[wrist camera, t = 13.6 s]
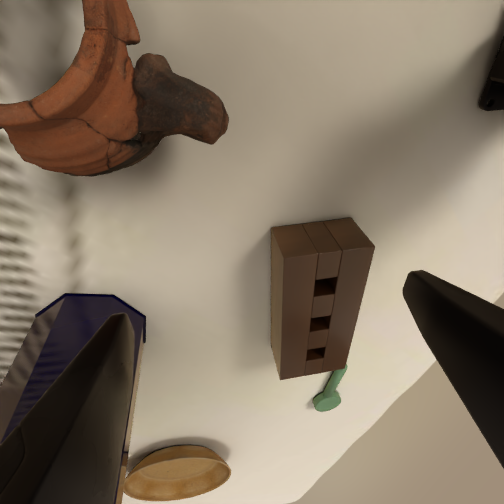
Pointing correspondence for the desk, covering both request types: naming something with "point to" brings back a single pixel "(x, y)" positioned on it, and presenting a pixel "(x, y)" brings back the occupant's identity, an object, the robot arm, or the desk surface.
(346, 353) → the holder
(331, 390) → the spoon
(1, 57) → the desk surface
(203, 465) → the plant saucer
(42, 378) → the bottle
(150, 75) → the pottery mug
